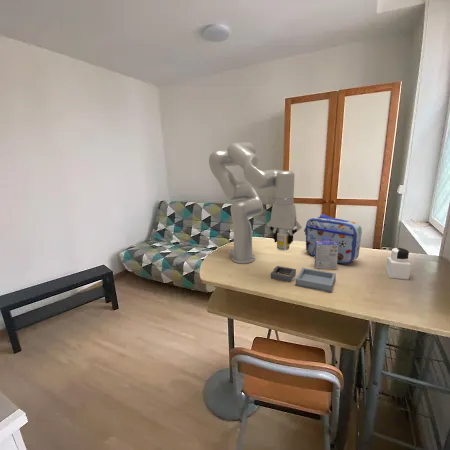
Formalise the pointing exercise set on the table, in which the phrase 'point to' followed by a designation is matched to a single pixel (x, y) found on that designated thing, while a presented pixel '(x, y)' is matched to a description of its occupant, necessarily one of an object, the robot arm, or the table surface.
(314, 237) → the lunch box
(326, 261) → the ink cartridge box
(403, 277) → the medicine bottle
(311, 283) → the tray
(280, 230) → the supplement bottle
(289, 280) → the collar
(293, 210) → the robot arm
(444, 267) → the table surface
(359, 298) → the table surface
